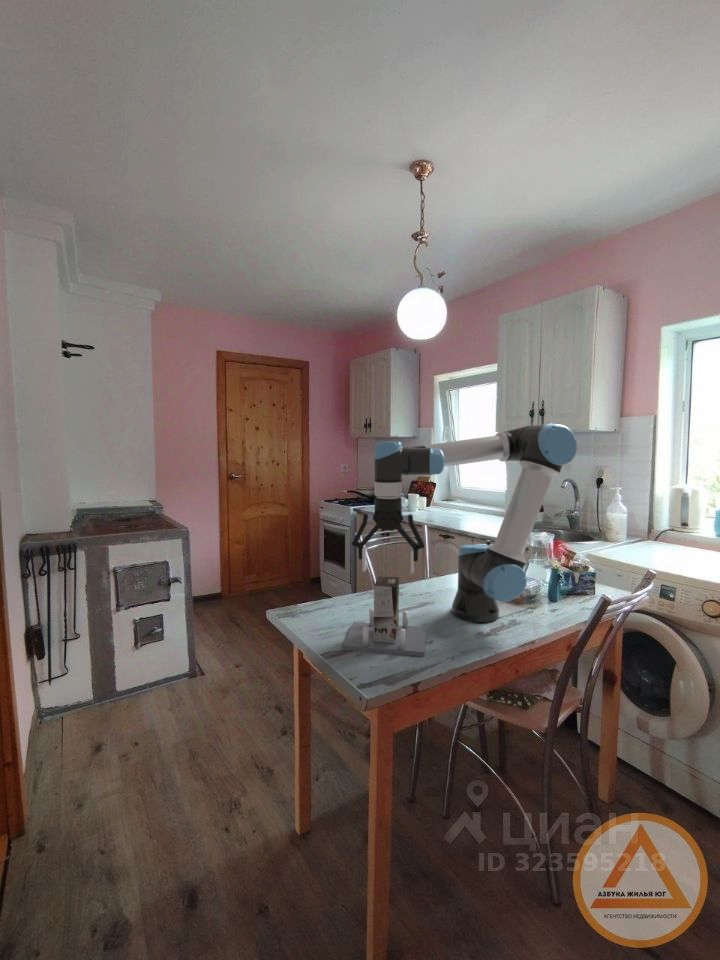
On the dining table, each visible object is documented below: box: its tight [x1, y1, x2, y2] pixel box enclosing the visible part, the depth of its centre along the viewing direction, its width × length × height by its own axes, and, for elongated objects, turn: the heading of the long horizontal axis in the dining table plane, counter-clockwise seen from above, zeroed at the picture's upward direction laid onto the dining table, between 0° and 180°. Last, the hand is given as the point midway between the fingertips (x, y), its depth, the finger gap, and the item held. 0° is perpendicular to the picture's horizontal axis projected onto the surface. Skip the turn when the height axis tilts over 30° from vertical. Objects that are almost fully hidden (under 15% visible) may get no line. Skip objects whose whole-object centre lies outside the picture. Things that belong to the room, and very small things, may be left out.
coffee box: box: [373, 576, 400, 643], centre depth 126 cm, size 9×6×16 cm
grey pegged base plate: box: [342, 607, 426, 657], centre depth 127 cm, size 22×16×6 cm
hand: (388, 571), depth 125 cm, fingers open, 13 cm apart
